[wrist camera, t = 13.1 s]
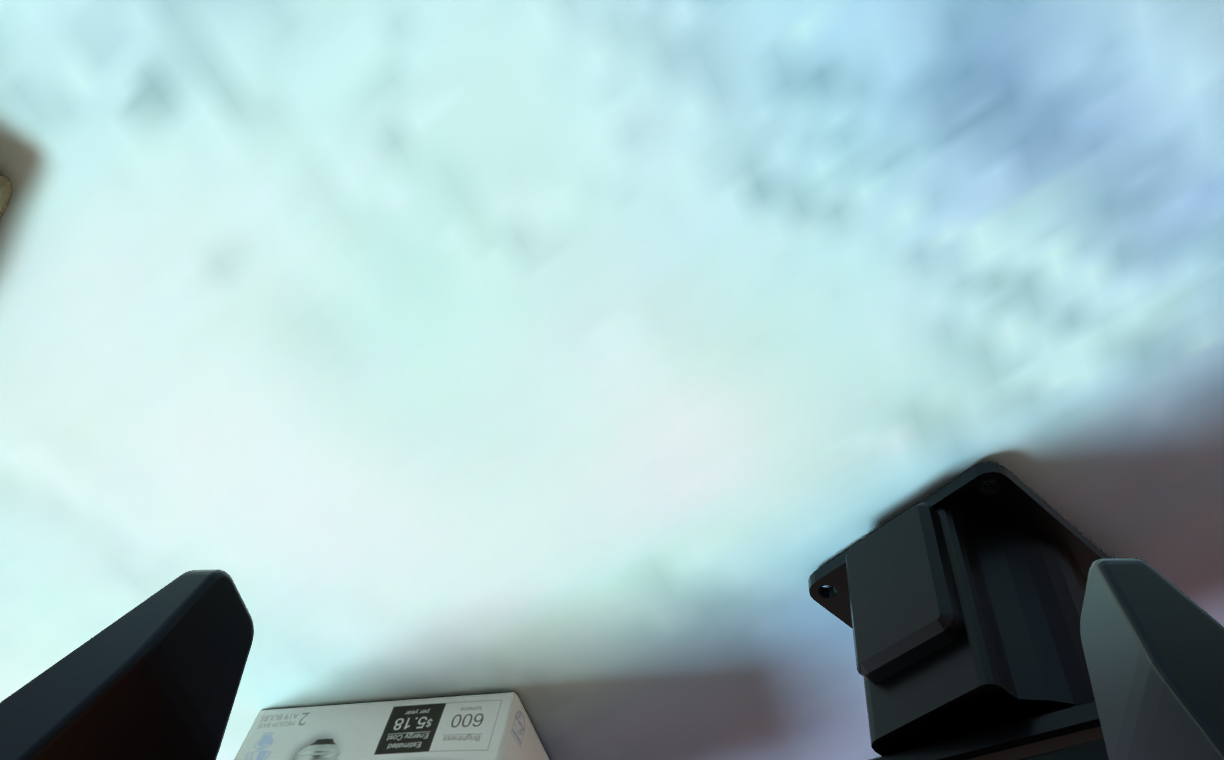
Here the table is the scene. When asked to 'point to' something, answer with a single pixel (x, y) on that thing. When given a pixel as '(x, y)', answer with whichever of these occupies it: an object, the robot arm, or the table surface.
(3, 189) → the computer
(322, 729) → the light bulb box
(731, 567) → the table surface
